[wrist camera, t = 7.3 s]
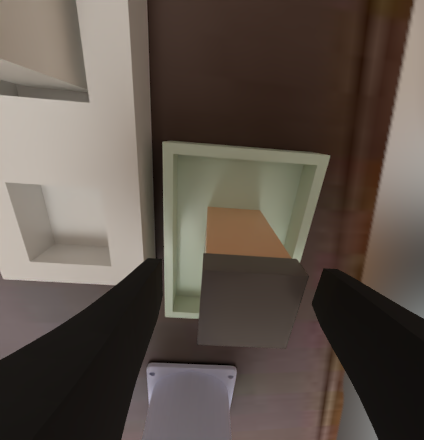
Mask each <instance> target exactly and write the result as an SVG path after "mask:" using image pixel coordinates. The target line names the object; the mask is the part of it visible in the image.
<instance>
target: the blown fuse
mask: <svg viewBox="0 0 424 440" xmlns="http://www.w3.org/2000/svg"><path fill="white" fill-rule="evenodd" d="M308 278H309V276H308V274H307V273H306V271H305V270H304V269H303V267H302V266H301V264H300V263H299V261H298V260H297V259H292V258H291V257H290V255H289V254H288V252H287V250H286V249H285V247H284V246H283V244H282V243H281V241H280V240H279V238H278V237H277V235H276V234H275V232H274V231H273V229H272V228H271V226H270V225H269V223H268V221H267V220H266V218H265V217H264V215H263V214H262V212H261V211H260V210H249V209H235V208H221V207H207V221H206V234H205V248H204V253H203V265H202V279H201V293H200V307H199V320H198V336H197V345H213V346H235V347H257V348H280V349H286V347H287V344H288V340H289V337H290V334H291V331H292V328H293V325H294V322H295V318H296V315H297V312H298V309H299V306H300V303H301V300H302V296H303V293H304V290H305V287H306V284H307V281H308Z"/></svg>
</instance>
